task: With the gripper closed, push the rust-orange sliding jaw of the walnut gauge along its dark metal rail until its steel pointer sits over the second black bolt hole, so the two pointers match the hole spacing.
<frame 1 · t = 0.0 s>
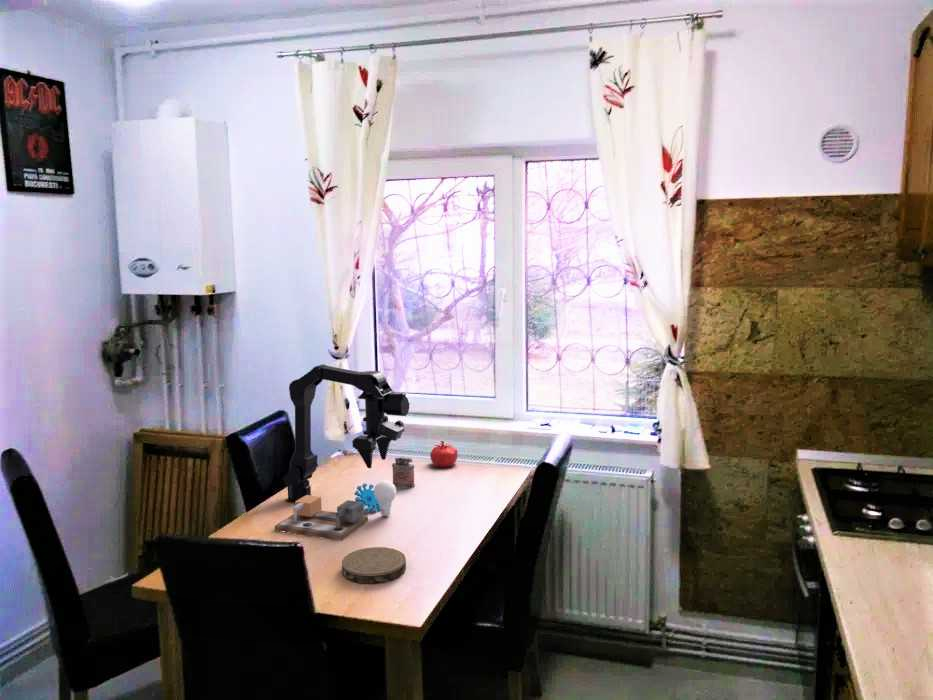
hand: (376, 463, 227), 15 cm above the table, tool pointing down, fingers open, 9 cm apart
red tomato: (444, 465, 274), on the table
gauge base: (322, 526, 217), on the table
sliding jaw: (304, 509, 218), point 4 cm above the table, slide at 0.0 cm
light bulb: (385, 516, 224), on the table
brown round disc: (374, 572, 187), on the table
gear: (371, 510, 230), on the table
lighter: (403, 486, 251), on the table
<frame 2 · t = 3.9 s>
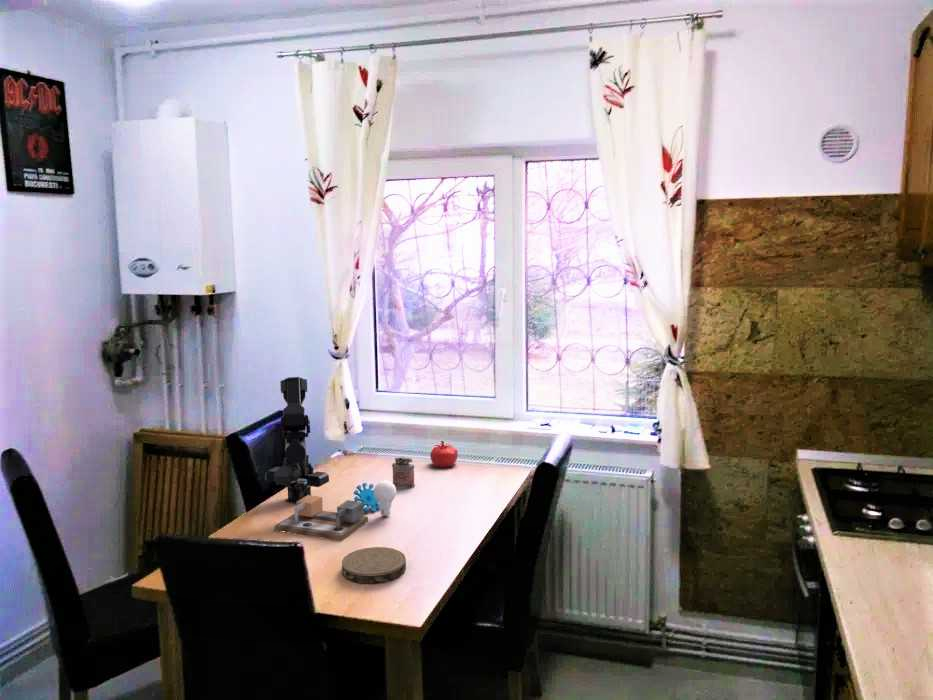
hand: (298, 504, 222), 5 cm above the table, tool pointing down, fingers closed
sliding jaw: (305, 509, 218), point 4 cm above the table, slide at 0.4 cm, touching gripper
everything else where it was.
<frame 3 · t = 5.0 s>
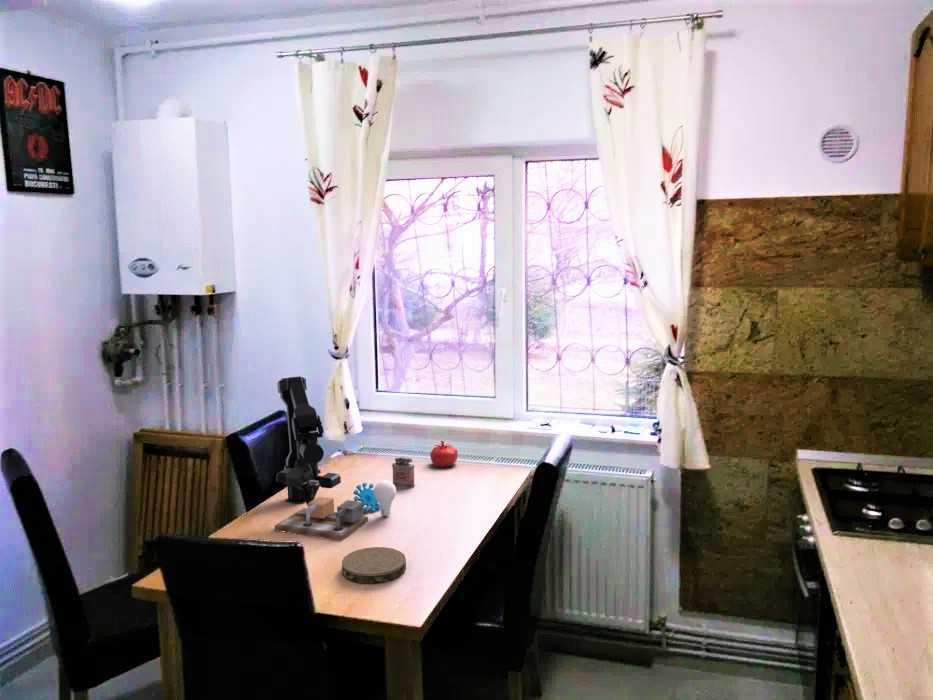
hand: (309, 506, 220), 5 cm above the table, tool pointing down, fingers closed
sliding jaw: (317, 510, 217), point 4 cm above the table, slide at 4.3 cm, touching gripper
everything else where it was.
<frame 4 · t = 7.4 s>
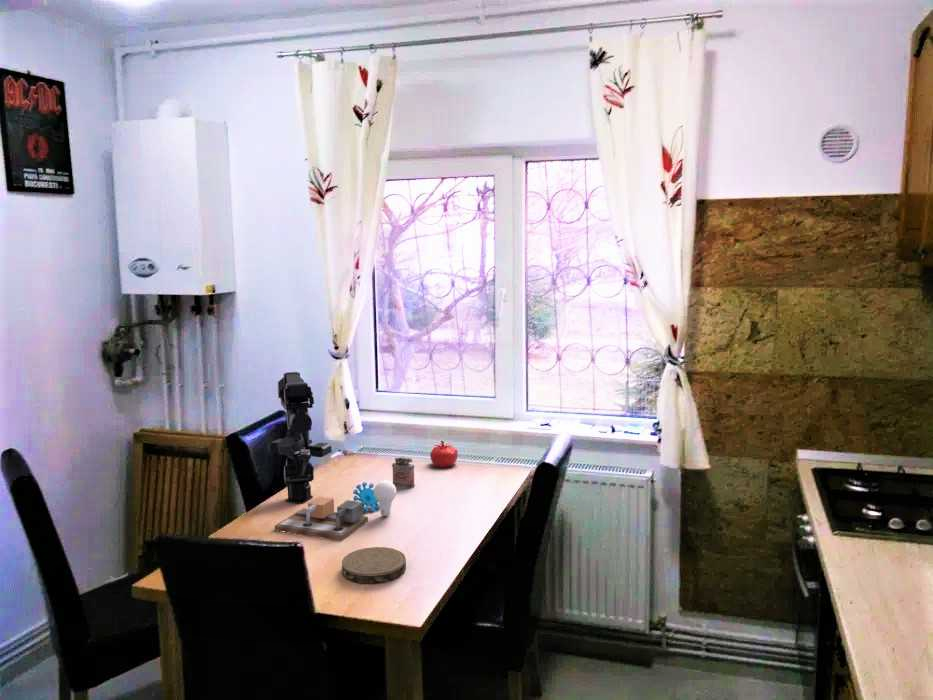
hand: (301, 475, 225), 12 cm above the table, tool pointing down, fingers closed
sliding jaw: (317, 510, 217), point 4 cm above the table, slide at 4.3 cm
everything else where it was.
at the end: sliding jaw slide at 4.3 cm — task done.
